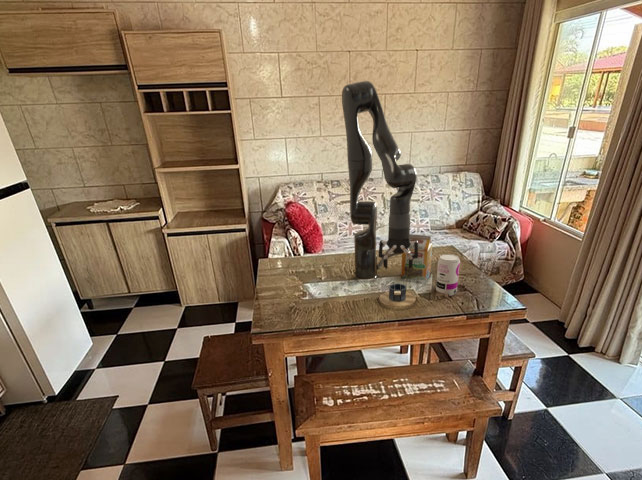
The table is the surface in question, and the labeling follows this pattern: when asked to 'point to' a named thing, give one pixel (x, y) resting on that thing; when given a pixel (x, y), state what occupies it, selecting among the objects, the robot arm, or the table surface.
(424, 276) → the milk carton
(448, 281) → the supplement can
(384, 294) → the turntable
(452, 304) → the table surface
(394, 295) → the dark grey basket
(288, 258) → the table surface
